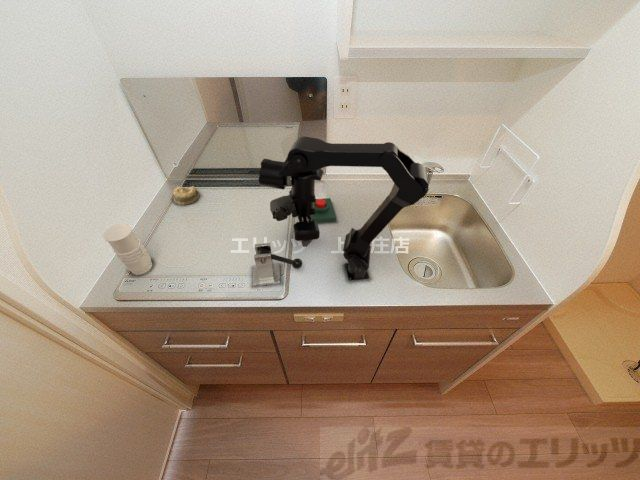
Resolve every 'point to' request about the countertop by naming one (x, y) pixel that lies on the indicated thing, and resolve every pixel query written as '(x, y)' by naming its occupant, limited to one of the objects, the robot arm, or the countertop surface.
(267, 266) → the bracket
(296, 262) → the lever
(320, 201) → the button
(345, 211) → the countertop surface
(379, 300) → the countertop surface
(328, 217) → the control box
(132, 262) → the candle
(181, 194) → the cake
